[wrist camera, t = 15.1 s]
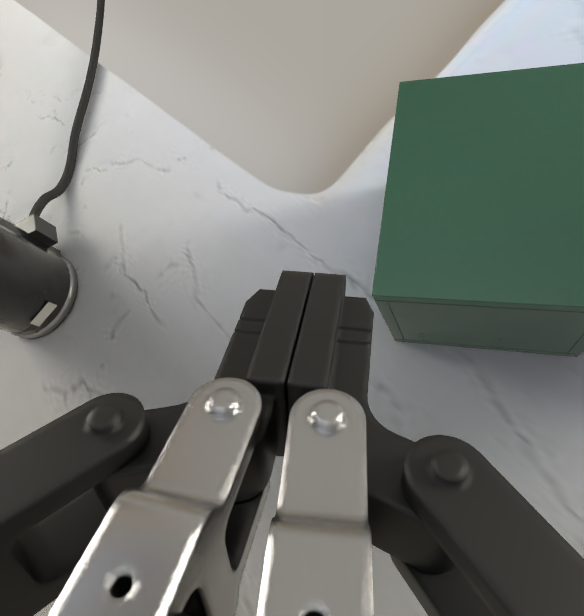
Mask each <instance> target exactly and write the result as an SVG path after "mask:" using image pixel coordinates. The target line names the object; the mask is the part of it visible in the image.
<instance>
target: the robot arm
mask: <svg viewBox="0 0 584 616" xmlns="http://www.w3.org/2000/svg"><path fill="white" fill-rule="evenodd" d="M104 4H105V0H97V12H96V21H95V29H94V37H93V44H92V50H91V56H90V62H89V67H88V71H87V76H86V80H85V84H84V88H83V92H82V95H81V99H80V102H79V106H78V109H77V113H76V116H75V120H74V123H73V127H72V131H71V136H70V142H69V149H68V156H67V162H66V166H65V170H64V173H63V175H62V177H61V179H60V181H59V183H58V184H57V186H56V187H55V188H54V189H52V190H51V191H49V192H47V193H45V194H43V195H42V196H41V197H40V198H39V199H38V200H37V202H36V203H35V204H34V206H33V208H32V210H31V212H30V214H29V217H27V218H26V219H24V220H22V221H20V222H19V223H17V224H15V225H13V224H11V223H10V222H8V221H6V220H4V219H2V218H1V217H0V329H1V330H4V331H7V332H10V333H12V334H14V335H17V336H20V337H23V338H29V339H32V338H38V337H41V336H43V335H46V334H47V333H49V332H51V331H52V330H54V329H55V328H56V327H57V326H58V325H59V324H60V323H61V322H62V321H63V320H64V318H65V317H66V316H67V314H68V313H69V311H70V309H71V307H72V305H73V302H74V300H75V296H76V292H77V276H76V272H75V270H74V267H73V266H72V264H71V263H70V262H69V261H68V260H66V259H65V258H63V257H61V255H60V250H58V249H56V248H54V247H53V246H52V245H54V244H56V243H58V240H57V233H56V227H55V226H53V225H51V224H50V223H48V222H47V221H45V220H43V219H42V218H40V217H39V216H40V214H41V212H42V210H43V209H44V207H45V206H46V205H47V203H48V202H50V201H51V200H53V199H55V198H57V197H58V196H60V195H61V194H62V193H63V192H64V191H65V189H66V188H67V186H68V184H69V182H70V180H71V177H72V174H73V171H74V166H75V161H76V154H77V146H78V140H79V135H80V131H81V127H82V123H83V120H84V116H85V113H86V109H87V106H88V102H89V98H90V95H91V91H92V87H93V83H94V78H95V73H96V68H97V63H98V57H99V50H100V43H101V35H102V27H103V17H104ZM345 286H346V275H337V274H324V273H315V275H314V273H310V272H297V271H284V270H283V271H282V274H281V276H280V279H279V282H278V285H277V288H276V291H275V290H263V289H260V290H259V291H257V292H256V293H255V294H254V295H253V296H252V297H251V298H250V299H249V300H247V301H246V303H245V306H244V308H243V311H242V313H241V315H240V320H238V323H237V325H236V328H235V332H234V333H233V335H232V337H231V340H230V342H229V345H228V347H227V350H226V352H225V354H224V357H223V359H222V362H221V364H220V367H219V369H218V371H217V374H216V376H215V379H214V380H212V381H210V382H208V383H206V384H204V385H203V386H201V387H200V388H199V389H197V390H196V392H195V393H194V394H193V395H192V397H191V398H190V400H189V402H187V403H183V404H180V405H176V406H170V407H163V408H157V409H150V410H144V408H143V405H142V404H141V402H140V401H139V400H138V399H137V398H135V397H134V396H132V395H129V394H124V393H110V394H105V395H102V396H99V397H96V398H94V399H92V400H90V401H88V402H86V403H85V404H83V405H81V406H79V407H77V408H76V409H74V410H72V411H70V412H68V413H67V414H65V415H63V416H61V417H59V418H58V419H56V420H54V421H52V422H50V423H49V424H47V425H45V426H43V427H41V428H40V429H38V430H36V431H34V432H32V433H31V434H29V435H27V436H25V437H23V438H22V439H20V440H18V441H16V442H14V443H13V444H11V445H9V446H7V447H5V448H4V449H2V450H0V616H33V615H35V614H36V613H37V612H39V611H40V610H41V609H43V608H44V607H45V606H47V605H48V604H49V603H51V602H52V601H53V600H55V599H56V598H57V597H58V599H57V600H56V602H55V604H54V606H53V607H52V609H51V611H50V612H49V614H48V616H235V615H236V610H237V605H238V597H239V587H240V582H241V578H242V574H243V571H244V568H245V564H246V561H247V558H248V555H249V552H250V549H251V546H252V542H253V539H254V536H255V533H256V530H257V527H258V524H259V521H260V517H261V514H262V511H263V508H264V505H265V502H266V499H267V495H268V492H269V488H270V477H271V473H272V469H273V464H274V460H275V456H283V457H284V460H283V467H282V475H281V482H280V489H279V497H278V504H277V510H276V515H275V517H273V518H272V521H271V524H270V529H269V534H268V540H267V547H266V554H265V561H264V568H263V575H262V582H261V589H260V596H259V603H258V610H257V616H373V575H372V545H374V546H376V547H377V548H379V549H381V550H383V551H385V552H387V553H389V554H390V556H391V558H392V561H393V563H394V564H395V566H396V568H397V569H398V571H399V572H400V574H401V575H402V577H403V578H404V580H405V581H406V583H407V584H408V586H409V587H410V589H411V590H412V592H413V593H414V595H415V596H416V598H417V599H418V601H419V602H420V604H421V605H422V607H423V608H424V610H425V611H426V613H427V614H428V616H584V559H583V558H582V557H581V556H580V555H579V554H578V553H577V552H576V550H575V549H574V548H573V547H572V546H571V545H570V544H569V543H568V542H567V541H566V540H565V539H564V538H563V537H562V536H561V535H560V534H559V533H558V532H557V531H556V530H555V529H554V528H553V527H552V526H551V525H550V524H549V523H548V522H547V521H546V520H545V519H544V518H543V517H542V516H541V515H540V514H539V513H538V512H537V511H536V510H535V509H534V507H533V506H532V505H531V504H530V503H529V502H528V501H527V500H526V499H525V498H524V497H523V496H522V495H521V494H520V493H519V492H518V491H517V490H516V489H515V488H514V487H513V486H512V485H511V484H510V483H509V482H508V481H507V480H506V479H505V478H504V477H503V476H502V475H501V474H500V473H499V472H498V471H497V470H496V469H495V468H494V467H493V466H492V465H491V463H490V462H489V461H488V460H487V459H486V458H485V457H484V456H483V455H482V454H481V453H480V452H479V451H477V450H476V449H475V448H474V447H473V446H471V445H470V444H468V443H466V442H464V441H462V440H460V439H457V438H455V437H451V436H445V435H433V436H428V437H425V438H422V439H420V440H419V441H417V442H413V441H411V440H409V439H406V438H404V437H402V436H399V435H397V434H395V433H393V432H391V431H389V430H388V429H386V428H385V427H383V426H382V425H381V424H380V423H379V422H378V421H377V420H376V419H375V418H374V416H373V414H372V413H371V411H370V408H369V406H368V401H367V394H368V381H369V368H370V355H371V342H372V329H373V316H374V313H373V311H372V309H371V307H370V305H369V303H368V302H367V300H366V298H358V297H346V296H345Z"/></svg>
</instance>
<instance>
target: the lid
mask: <svg viewBox="0 0 584 616" xmlns="http://www.w3.org/2000/svg"><path fill="white" fill-rule="evenodd" d="M372 296H373V298H374V300H387V301H404V302H422V303H439V304H457V305H474V306H492V307H509V308H527V309H544V310H562V311H579V312H584V63H578V64H568V65H559V66H549V67H540V68H530V69H520V70H511V71H501V72H492V73H482V74H473V75H463V76H453V77H444V78H434V79H425V80H415V81H406V82H400V85H399V92H398V100H397V107H396V115H395V123H394V130H393V138H392V146H391V153H390V161H389V168H388V176H387V184H386V191H385V199H384V207H383V214H382V222H381V230H380V237H379V245H378V253H377V260H376V268H375V275H374V283H373V291H372Z"/></svg>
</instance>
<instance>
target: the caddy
mask: <svg viewBox="0 0 584 616" xmlns="http://www.w3.org/2000/svg"><path fill="white" fill-rule="evenodd" d="M375 302H376V304H377V306H378V308H379V310H380V312H381V314H382V316H383V318H384V320H385V322H386V324H387V326H388V328H389V330H390V332H391V334H392V336H393V338H394V340H395V341H401V342H412V343H424V344H435V345H447V346H458V347H470V348H481V349H493V350H505V351H516V352H528V353H539V354H551V355H562V356H574V357H578V356H579V355H580V354H581V353H582V352H583V351H584V312H579V311H562V310H544V309H527V308H509V307H492V306H474V305H457V304H439V303H422V302H404V301H387V300H375Z"/></svg>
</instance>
